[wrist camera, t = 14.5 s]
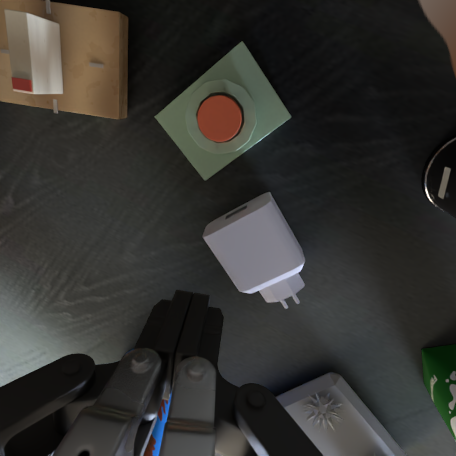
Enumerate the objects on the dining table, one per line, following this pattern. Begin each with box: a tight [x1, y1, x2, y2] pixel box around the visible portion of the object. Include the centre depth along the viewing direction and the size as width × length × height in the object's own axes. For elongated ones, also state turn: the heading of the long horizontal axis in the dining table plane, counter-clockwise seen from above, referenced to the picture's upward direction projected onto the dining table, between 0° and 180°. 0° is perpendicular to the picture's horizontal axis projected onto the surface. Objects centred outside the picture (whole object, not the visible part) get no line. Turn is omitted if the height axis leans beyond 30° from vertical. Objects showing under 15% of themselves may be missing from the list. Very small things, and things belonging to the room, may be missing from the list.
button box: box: [155, 41, 291, 181], centre depth 35 cm, size 12×9×4 cm
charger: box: [202, 192, 305, 309], centre depth 41 cm, size 5×9×15 cm
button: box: [197, 95, 242, 142], centre depth 33 cm, size 4×4×2 cm
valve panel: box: [0, 0, 128, 119], centre depth 34 cm, size 14×11×3 cm
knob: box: [4, 9, 63, 94], centre depth 31 cm, size 6×2×5 cm, turn 172°
